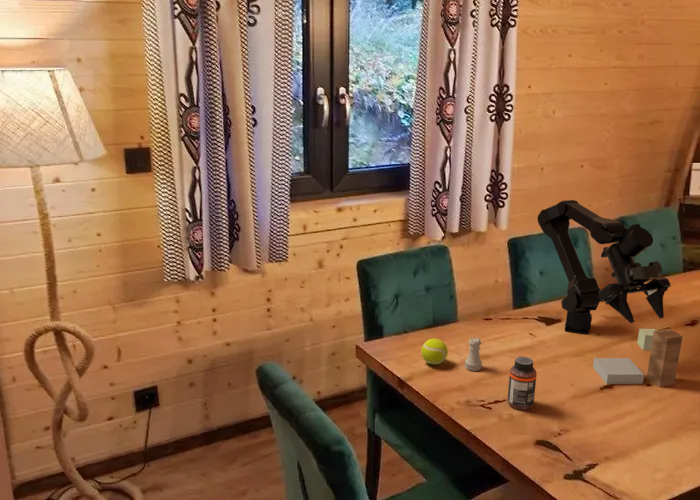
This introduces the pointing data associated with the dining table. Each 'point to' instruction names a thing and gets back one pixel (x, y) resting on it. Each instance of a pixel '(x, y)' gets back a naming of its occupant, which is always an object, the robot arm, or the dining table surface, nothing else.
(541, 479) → the dining table surface
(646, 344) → the sage cube
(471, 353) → the rook chess piece
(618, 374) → the slate slab
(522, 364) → the supplement bottle
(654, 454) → the dining table surface
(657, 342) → the walnut pillar
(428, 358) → the tennis ball
